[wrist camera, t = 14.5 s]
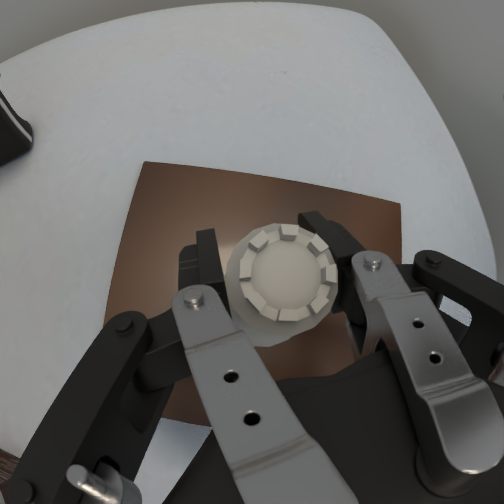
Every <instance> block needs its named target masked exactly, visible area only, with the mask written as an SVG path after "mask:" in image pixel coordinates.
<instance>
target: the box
mask: <svg viewBox="0 0 504 504" xmlns="http://www.w3.org/2000/svg"><path fill="white" fill-rule="evenodd" d="M19 460H20V459H18V458H16V457H14V456H12V455H10V454H8V453H5V452H4V451H1V450H0V504H10V503H9V501H8V496H7V486H8V482H9V480H10V477H11V475H12V474H13V472H14V470H15V468H16V466H17V464H18V462H19Z"/></svg>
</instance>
